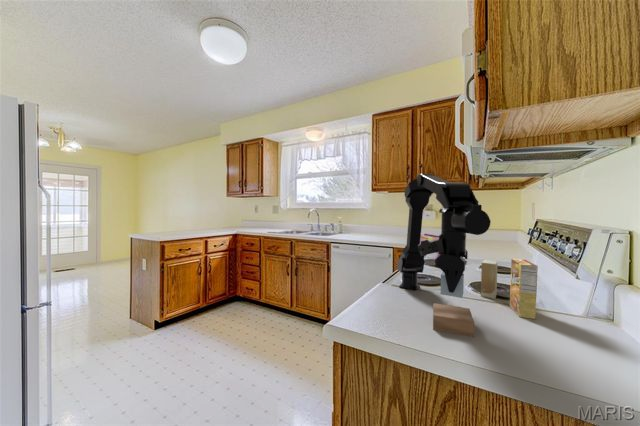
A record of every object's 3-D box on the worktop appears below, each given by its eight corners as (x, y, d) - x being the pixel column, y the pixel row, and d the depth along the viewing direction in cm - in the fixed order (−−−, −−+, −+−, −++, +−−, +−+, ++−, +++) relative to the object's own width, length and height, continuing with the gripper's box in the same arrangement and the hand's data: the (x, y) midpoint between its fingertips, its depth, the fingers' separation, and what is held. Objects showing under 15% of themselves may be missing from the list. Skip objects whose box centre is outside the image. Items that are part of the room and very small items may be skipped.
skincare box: (482, 291, 93) (483, 259, 93) (496, 294, 90) (497, 260, 90) (480, 296, 88) (481, 262, 88) (495, 299, 85) (496, 263, 85)
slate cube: (442, 288, 70) (443, 271, 70) (463, 292, 67) (463, 273, 67) (440, 294, 65) (440, 275, 65) (462, 298, 63) (462, 278, 63)
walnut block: (433, 316, 72) (433, 303, 72) (469, 322, 69) (469, 308, 68) (433, 330, 64) (433, 315, 64) (473, 338, 60) (474, 322, 60)
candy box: (508, 306, 80) (510, 258, 79) (525, 308, 78) (526, 259, 78) (518, 317, 72) (519, 264, 71) (537, 319, 70) (538, 265, 70)
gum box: (414, 253, 171) (414, 233, 171) (424, 253, 173) (425, 233, 173) (438, 260, 148) (438, 237, 148) (449, 260, 150) (450, 237, 149)
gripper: (426, 226, 78) (425, 276, 78) (413, 231, 62) (412, 293, 63) (468, 228, 72) (467, 282, 72) (465, 234, 56) (463, 303, 57)
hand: (452, 289), depth 66 cm, fingers closed on slate cube, 5 cm apart
